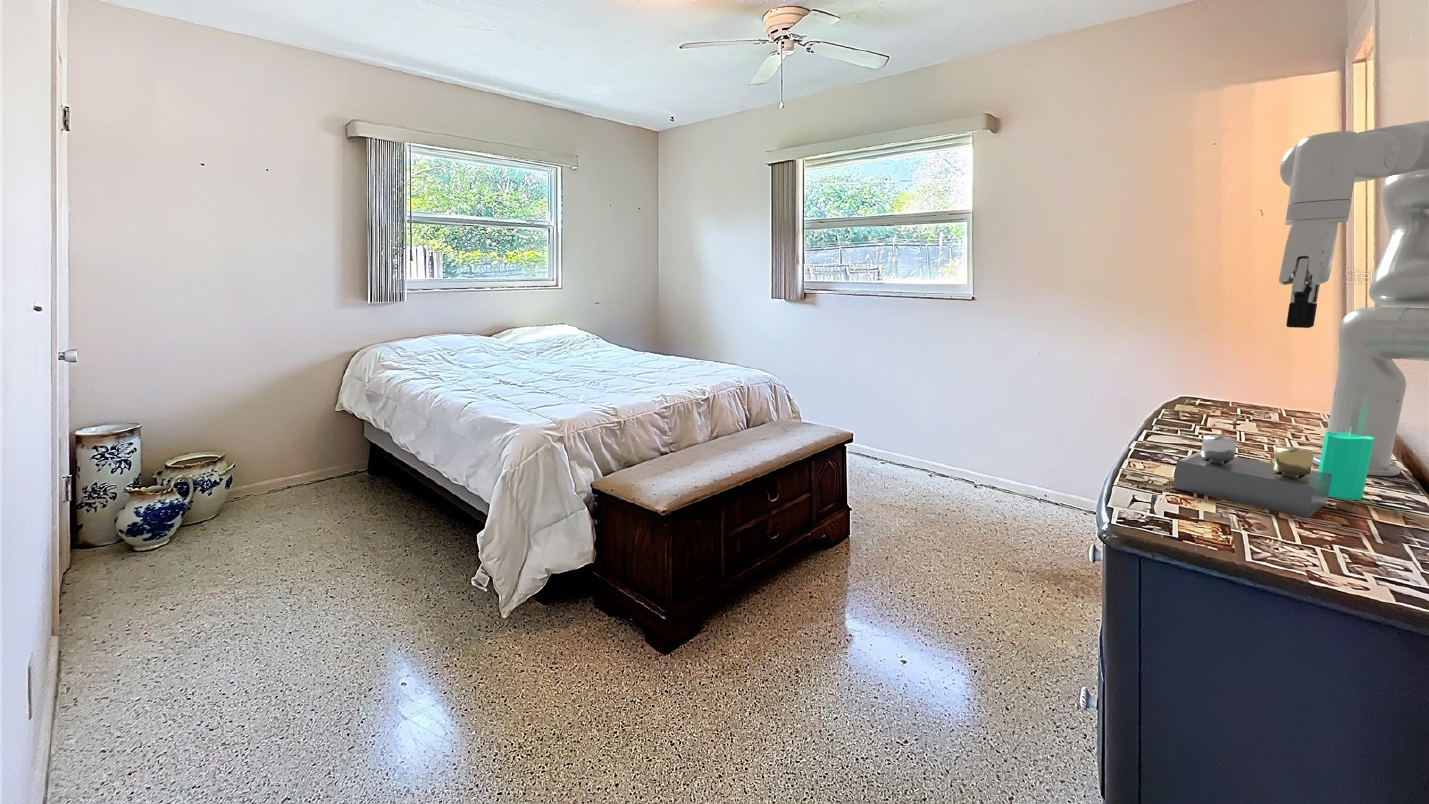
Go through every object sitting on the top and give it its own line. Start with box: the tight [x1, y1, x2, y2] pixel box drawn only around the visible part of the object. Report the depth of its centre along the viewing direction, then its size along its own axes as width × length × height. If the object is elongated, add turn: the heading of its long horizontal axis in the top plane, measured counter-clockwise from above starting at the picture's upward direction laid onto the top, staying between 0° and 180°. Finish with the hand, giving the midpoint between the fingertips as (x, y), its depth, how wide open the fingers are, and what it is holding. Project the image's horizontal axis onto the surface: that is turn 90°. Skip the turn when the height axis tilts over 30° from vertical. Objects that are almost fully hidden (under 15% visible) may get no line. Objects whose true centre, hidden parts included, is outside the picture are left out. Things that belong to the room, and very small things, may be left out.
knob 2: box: [1273, 445, 1315, 478], centre depth 104 cm, size 5×5×8 cm
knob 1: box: [1200, 434, 1237, 464], centre depth 112 cm, size 5×5×8 cm
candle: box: [1318, 427, 1374, 501], centre depth 109 cm, size 6×6×12 cm
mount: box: [1172, 450, 1332, 519], centre depth 109 cm, size 12×18×5 cm, turn 36°
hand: (1299, 326), depth 107 cm, fingers closed
